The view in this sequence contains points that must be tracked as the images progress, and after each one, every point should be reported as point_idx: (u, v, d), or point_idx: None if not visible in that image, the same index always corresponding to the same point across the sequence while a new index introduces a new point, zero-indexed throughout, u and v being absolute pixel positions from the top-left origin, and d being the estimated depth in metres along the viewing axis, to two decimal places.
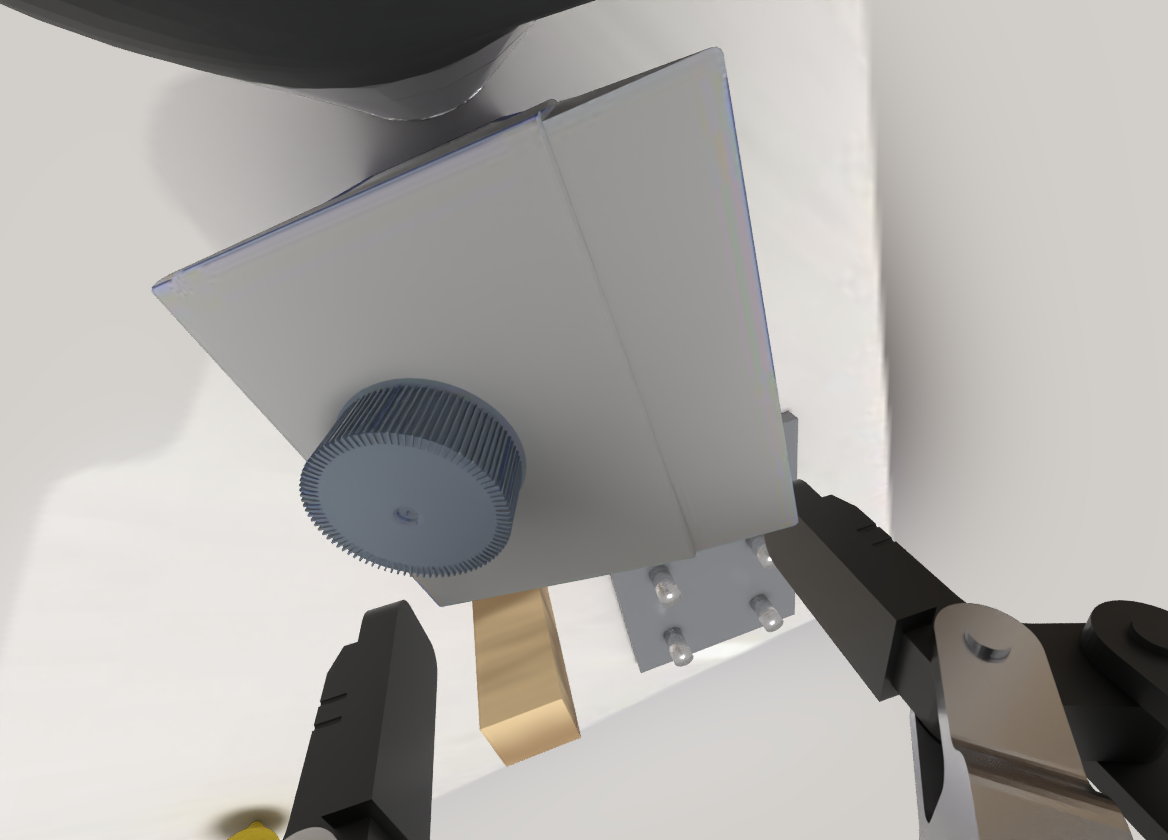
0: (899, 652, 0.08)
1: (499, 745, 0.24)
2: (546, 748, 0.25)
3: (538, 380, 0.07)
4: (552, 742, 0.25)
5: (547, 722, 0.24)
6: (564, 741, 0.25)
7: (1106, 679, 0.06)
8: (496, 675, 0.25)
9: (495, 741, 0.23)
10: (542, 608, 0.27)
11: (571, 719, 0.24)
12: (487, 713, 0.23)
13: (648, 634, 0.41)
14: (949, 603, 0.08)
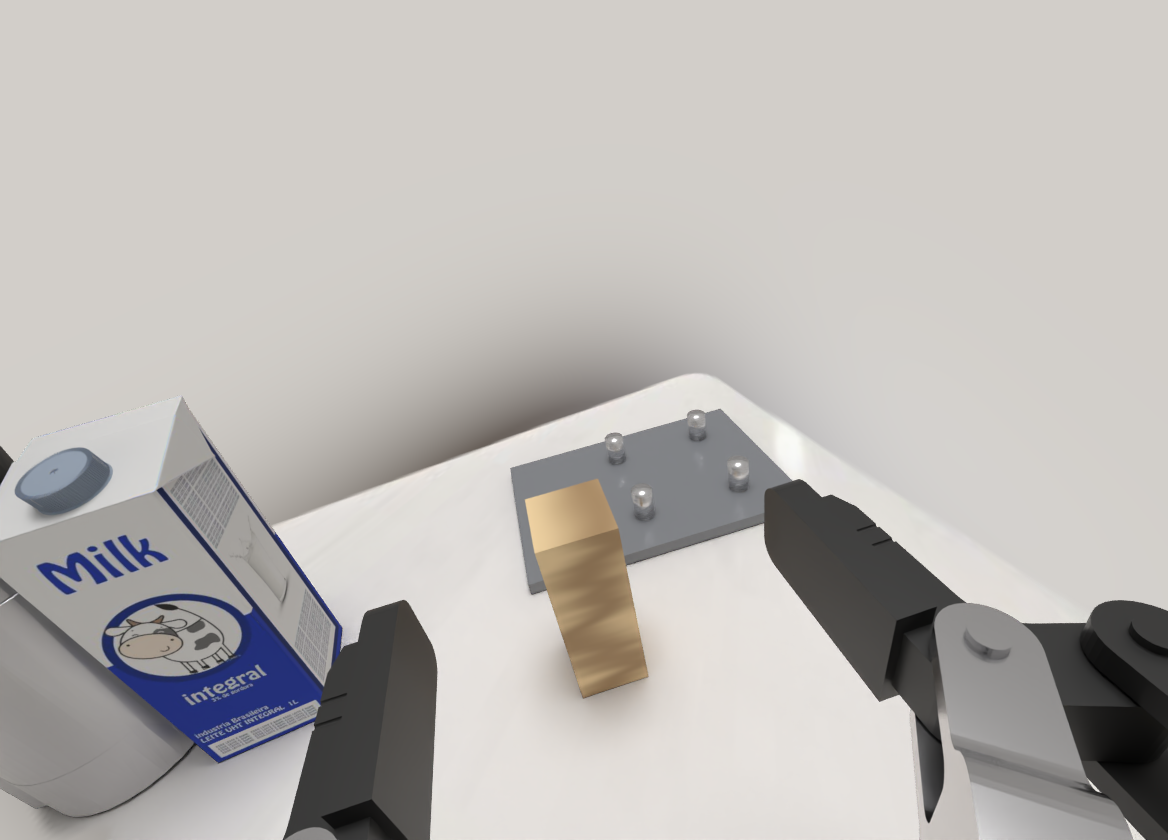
0: (899, 651, 0.08)
1: (572, 536, 0.23)
2: (602, 500, 0.24)
3: None
4: (594, 497, 0.25)
5: (556, 504, 0.25)
6: (598, 489, 0.25)
7: (1106, 679, 0.06)
8: None
9: (563, 540, 0.23)
10: None
11: (563, 489, 0.26)
12: None
13: (738, 504, 0.38)
14: (949, 603, 0.08)
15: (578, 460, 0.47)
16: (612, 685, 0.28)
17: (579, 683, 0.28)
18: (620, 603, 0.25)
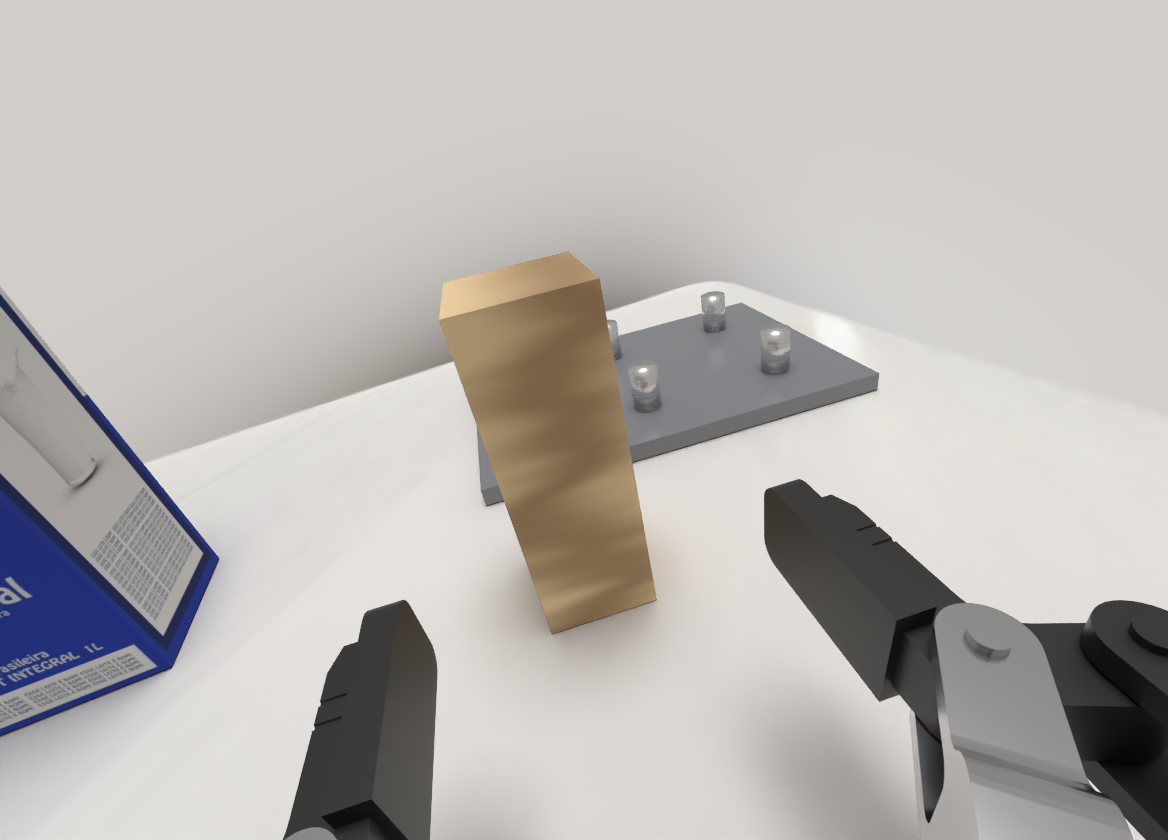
0: (900, 651, 0.08)
1: (513, 296, 0.12)
2: (572, 264, 0.14)
3: None
4: (559, 264, 0.14)
5: (494, 278, 0.14)
6: (567, 257, 0.15)
7: (1106, 679, 0.06)
8: None
9: (496, 301, 0.12)
10: None
11: (510, 267, 0.15)
12: None
13: (777, 386, 0.27)
14: (949, 603, 0.08)
15: None
16: (599, 613, 0.18)
17: (544, 607, 0.17)
18: (608, 452, 0.14)
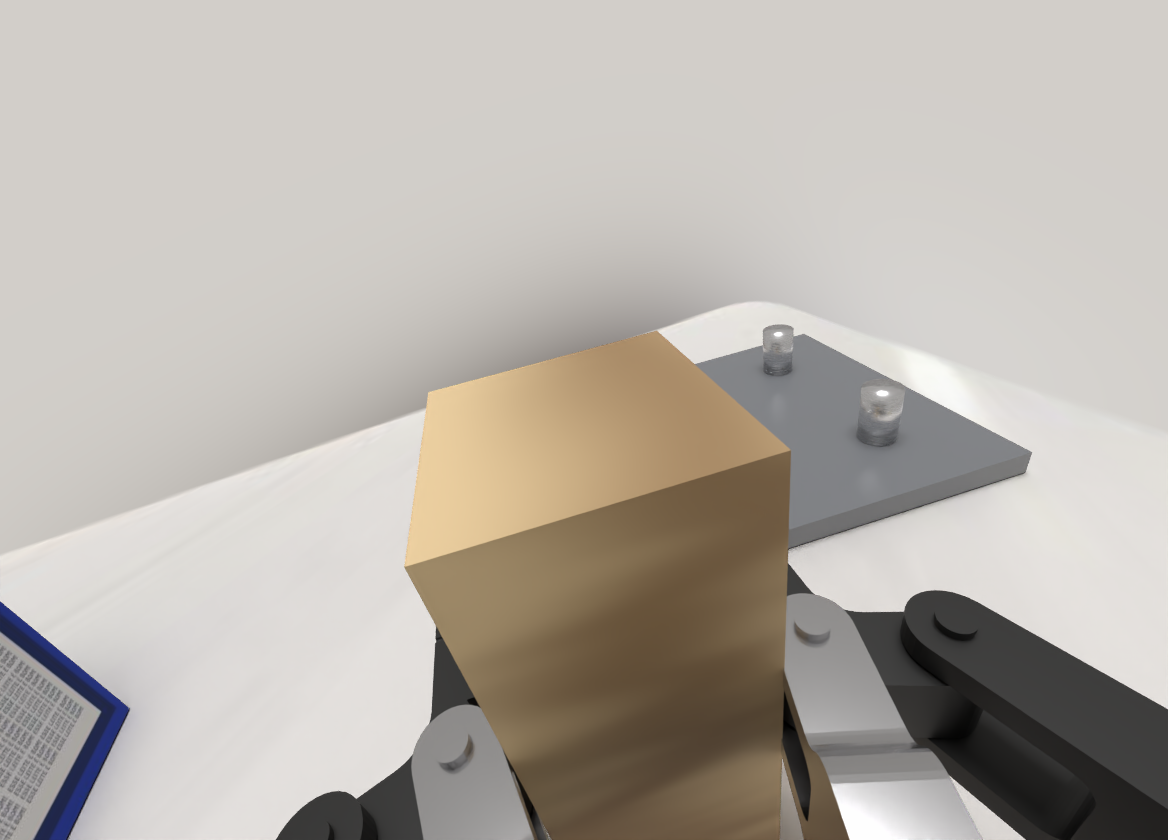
0: None
1: (585, 490, 0.05)
2: (685, 374, 0.07)
3: None
4: (654, 369, 0.07)
5: (526, 395, 0.07)
6: (663, 350, 0.08)
7: (930, 675, 0.07)
8: None
9: (544, 506, 0.05)
10: None
11: (551, 361, 0.08)
12: None
13: (888, 466, 0.20)
14: None
15: None
16: None
17: None
18: (744, 728, 0.07)
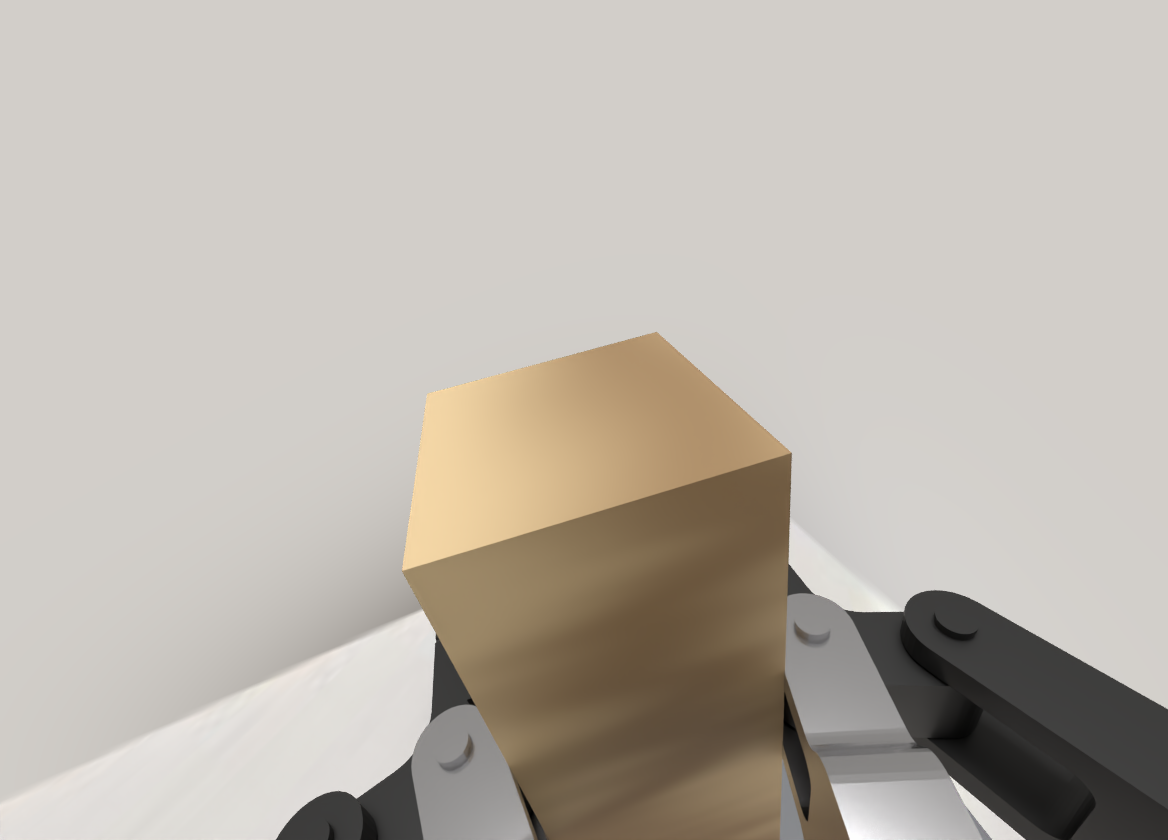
0: None
1: (584, 492, 0.05)
2: (685, 375, 0.07)
3: None
4: (654, 370, 0.07)
5: (525, 397, 0.07)
6: (663, 352, 0.08)
7: (930, 675, 0.07)
8: None
9: (543, 508, 0.05)
10: None
11: (551, 363, 0.08)
12: None
13: None
14: None
15: None
16: None
17: None
18: (744, 731, 0.07)
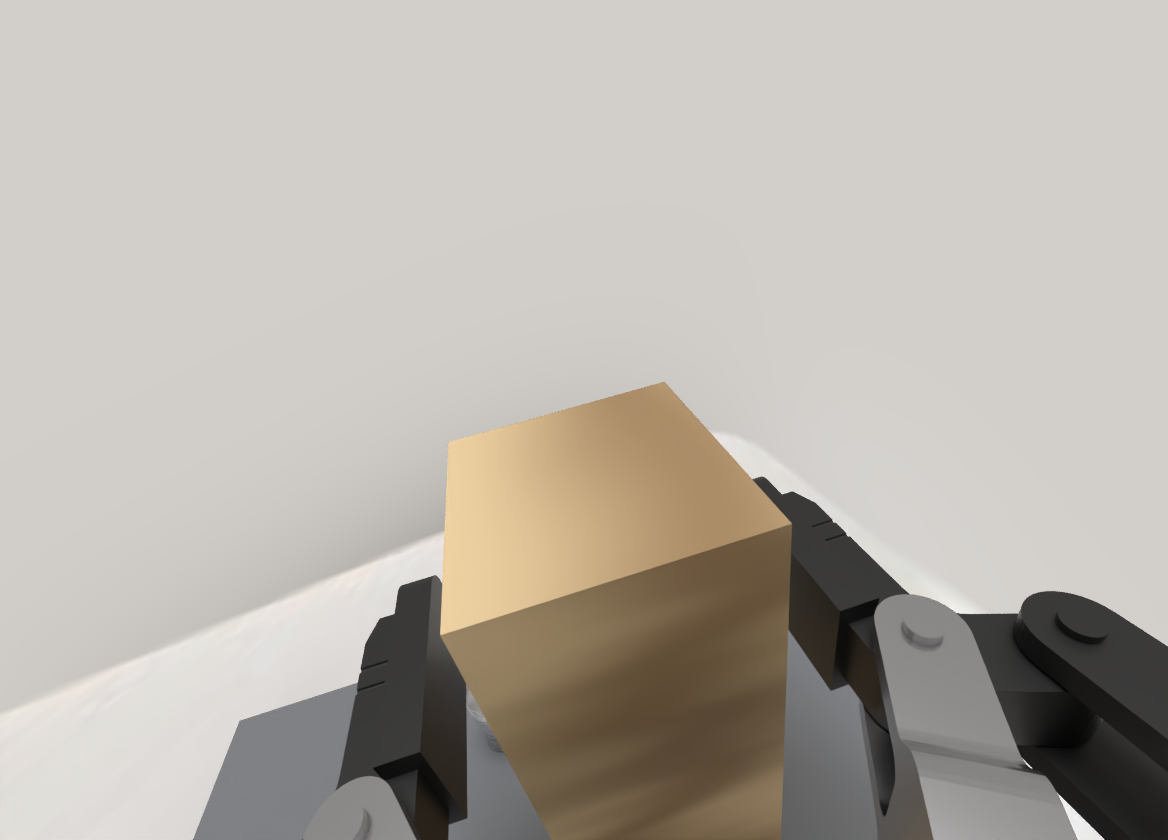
0: (846, 641, 0.08)
1: (603, 558, 0.06)
2: (692, 433, 0.07)
3: None
4: (662, 425, 0.08)
5: (543, 450, 0.08)
6: (671, 406, 0.08)
7: (1041, 671, 0.07)
8: None
9: (566, 574, 0.05)
10: None
11: (564, 412, 0.09)
12: None
13: None
14: (894, 595, 0.08)
15: None
16: None
17: None
18: (747, 762, 0.08)
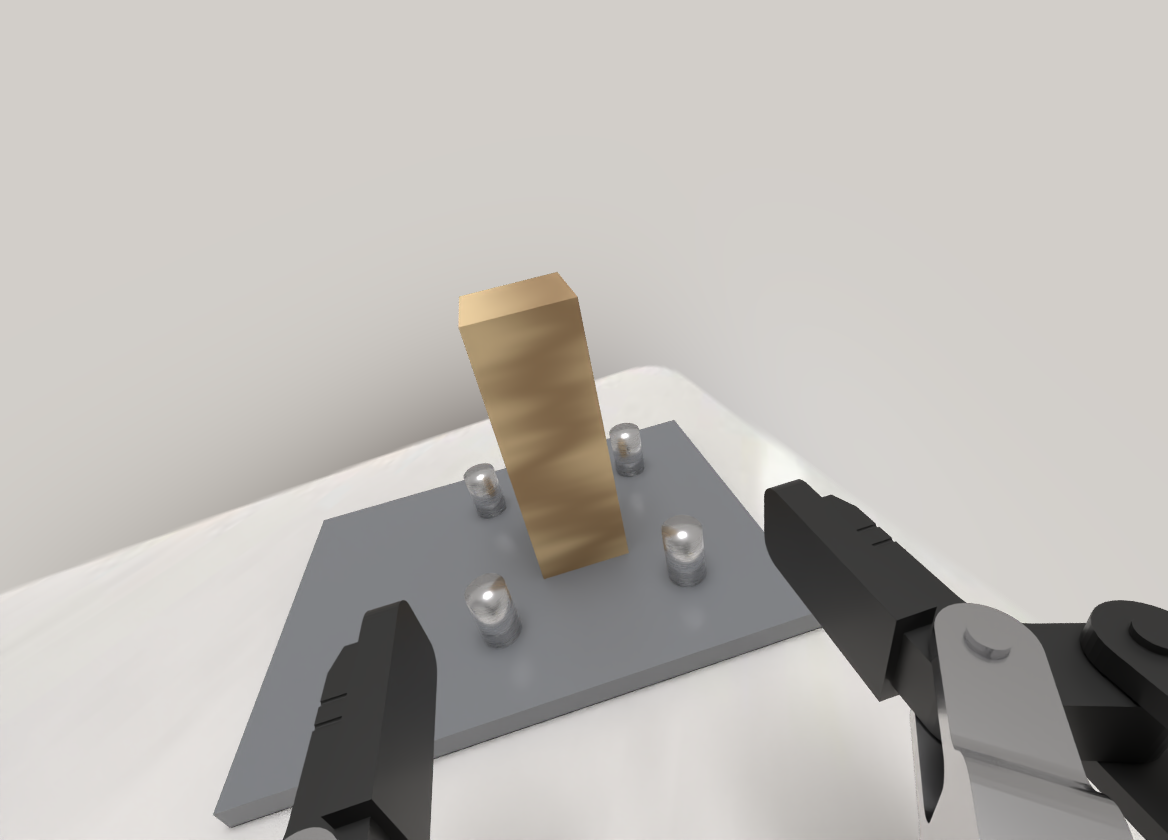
0: (899, 651, 0.08)
1: (514, 310, 0.16)
2: (559, 283, 0.18)
3: None
4: (549, 283, 0.18)
5: (499, 293, 0.18)
6: (555, 277, 0.19)
7: (1106, 679, 0.06)
8: None
9: (500, 314, 0.16)
10: None
11: (511, 284, 0.19)
12: None
13: (681, 617, 0.19)
14: (949, 603, 0.08)
15: (431, 508, 0.28)
16: (582, 562, 0.22)
17: (537, 555, 0.21)
18: (587, 429, 0.19)
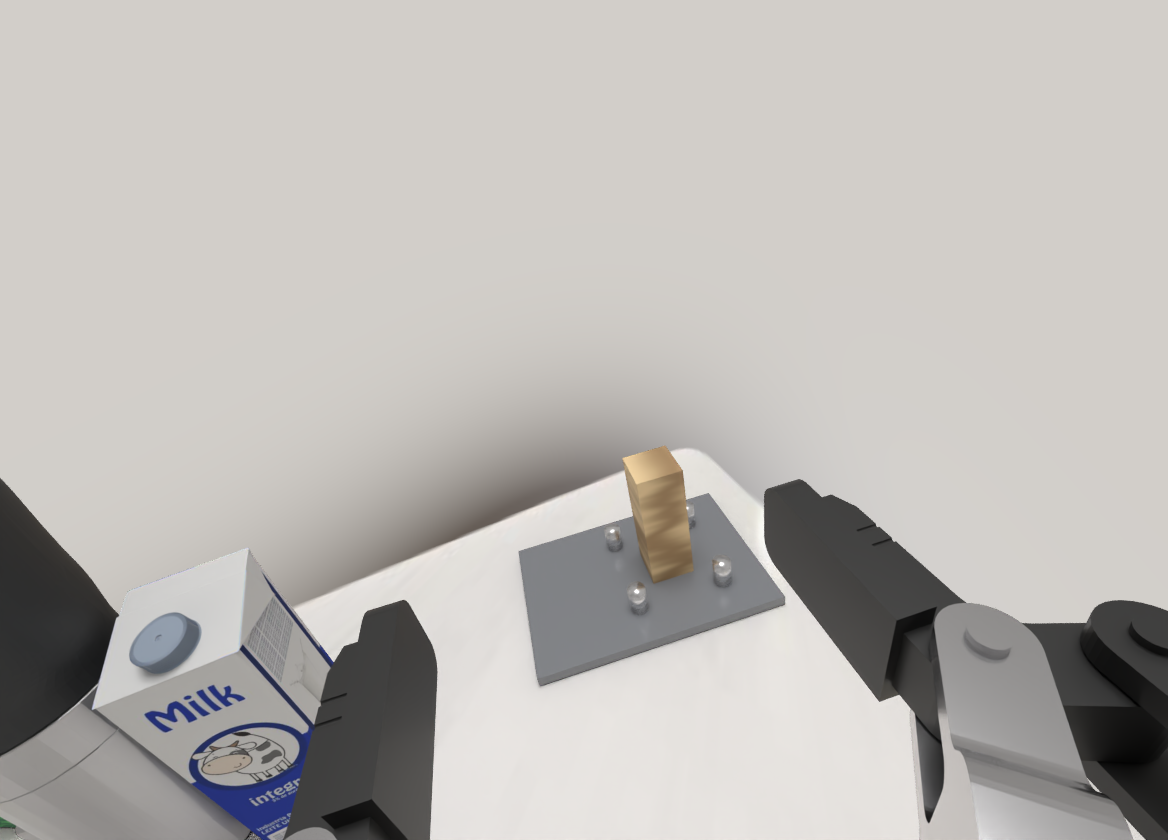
0: (900, 651, 0.08)
1: (656, 475, 0.40)
2: (670, 457, 0.42)
3: None
4: (665, 455, 0.42)
5: (643, 459, 0.42)
6: (666, 451, 0.43)
7: (1106, 679, 0.06)
8: (636, 498, 0.42)
9: (651, 477, 0.40)
10: (631, 503, 0.46)
11: (645, 452, 0.43)
12: (635, 487, 0.40)
13: (722, 600, 0.43)
14: (949, 603, 0.08)
15: (580, 545, 0.52)
16: (671, 575, 0.46)
17: (652, 572, 0.45)
18: (680, 518, 0.42)
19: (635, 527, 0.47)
